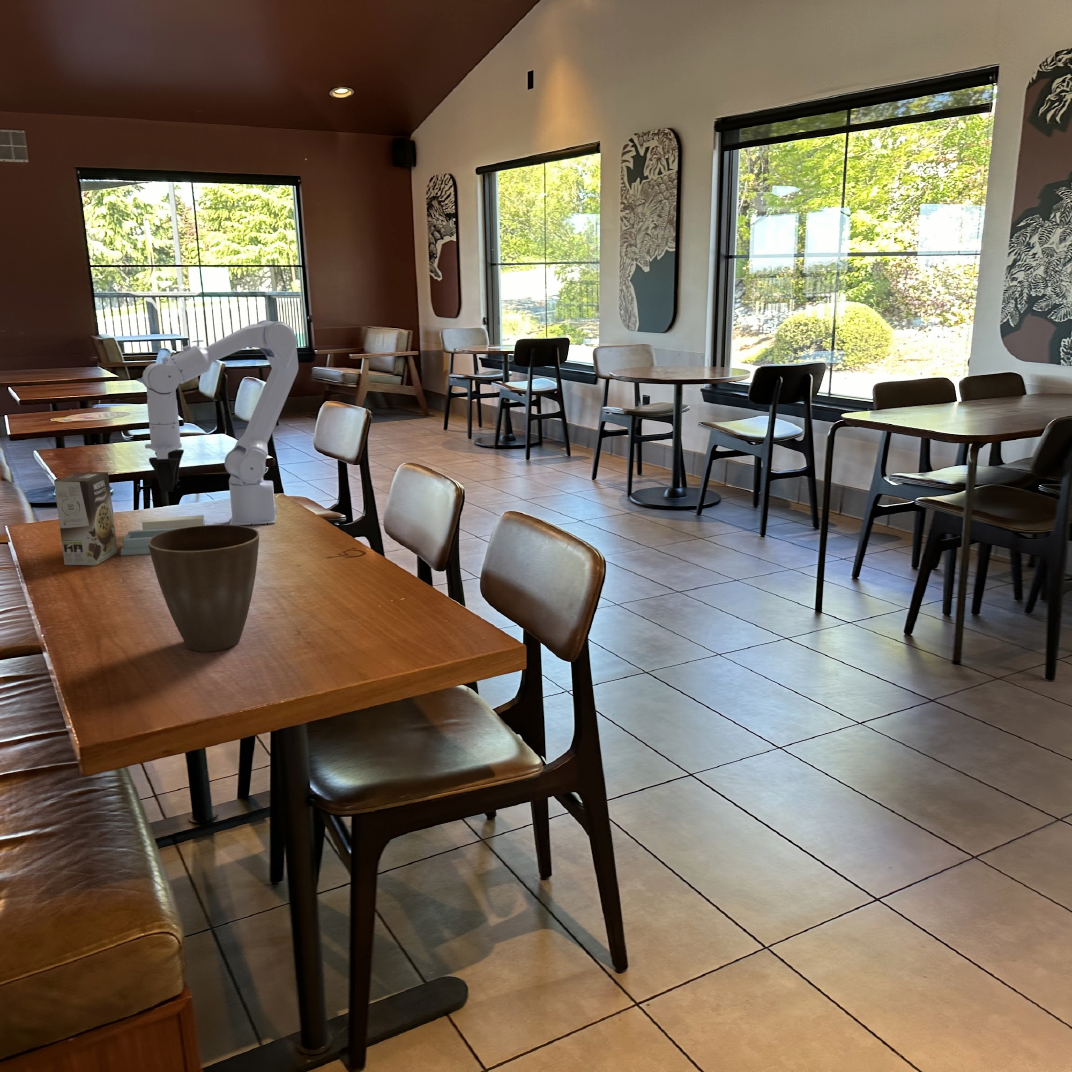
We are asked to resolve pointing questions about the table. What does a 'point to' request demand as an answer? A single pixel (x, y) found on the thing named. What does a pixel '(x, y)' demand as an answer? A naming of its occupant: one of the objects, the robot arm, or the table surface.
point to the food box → (86, 518)
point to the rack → (139, 541)
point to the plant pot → (207, 581)
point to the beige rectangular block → (172, 522)
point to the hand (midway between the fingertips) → (169, 487)
